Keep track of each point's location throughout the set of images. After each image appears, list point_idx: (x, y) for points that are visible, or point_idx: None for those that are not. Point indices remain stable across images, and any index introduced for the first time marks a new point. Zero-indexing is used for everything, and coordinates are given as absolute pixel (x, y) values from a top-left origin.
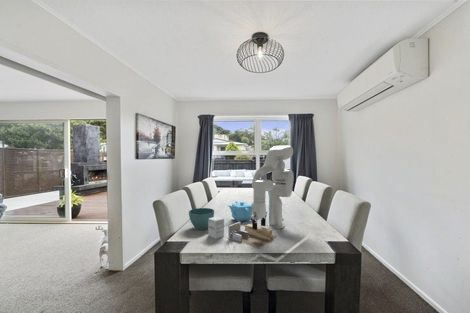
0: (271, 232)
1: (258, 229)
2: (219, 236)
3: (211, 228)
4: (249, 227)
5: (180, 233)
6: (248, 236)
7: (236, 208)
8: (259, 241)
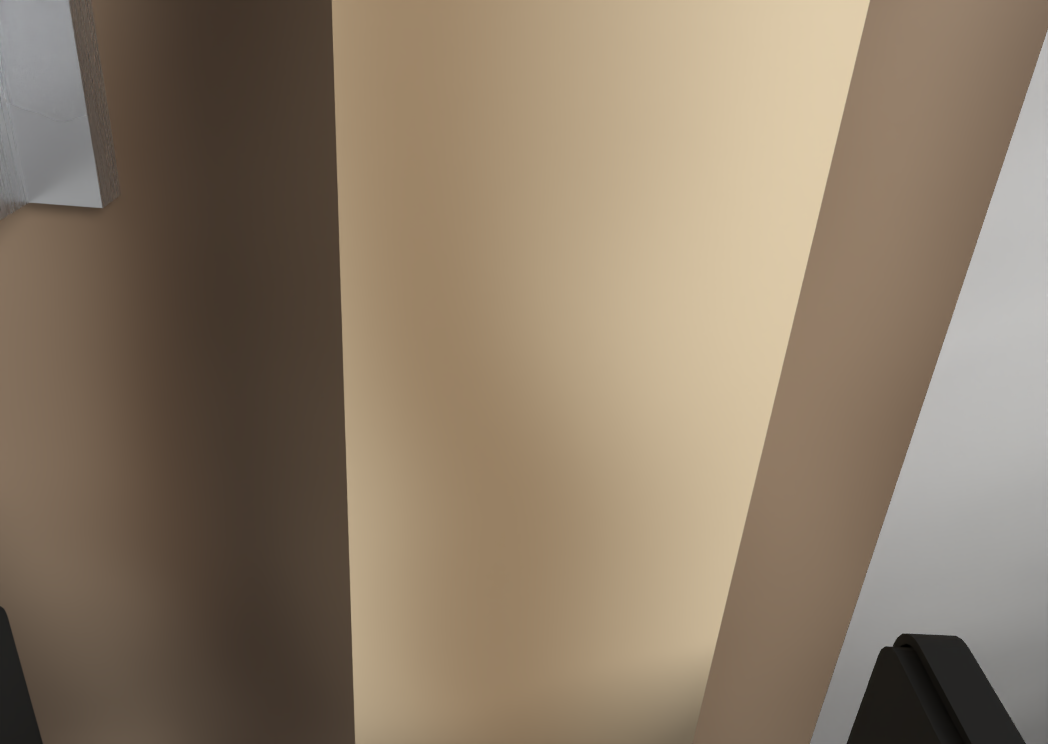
0: None
1: (359, 661)
2: None
3: None
4: (350, 60)
5: None
6: (63, 178)
7: None
8: (95, 623)
